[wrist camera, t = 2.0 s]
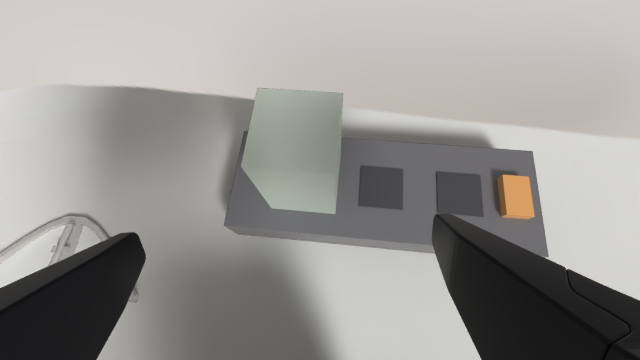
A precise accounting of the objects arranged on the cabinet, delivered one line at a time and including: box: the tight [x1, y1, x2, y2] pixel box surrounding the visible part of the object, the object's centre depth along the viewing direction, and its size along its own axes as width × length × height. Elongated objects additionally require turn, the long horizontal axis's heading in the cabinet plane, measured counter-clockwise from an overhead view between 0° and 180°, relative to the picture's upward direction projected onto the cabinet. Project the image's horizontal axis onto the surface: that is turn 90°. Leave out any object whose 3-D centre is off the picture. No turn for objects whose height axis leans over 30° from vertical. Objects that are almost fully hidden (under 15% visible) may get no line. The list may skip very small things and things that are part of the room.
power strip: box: [224, 131, 548, 258], centre depth 21 cm, size 20×7×4 cm, turn 84°
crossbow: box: [0, 215, 138, 302], centre depth 21 cm, size 16×13×2 cm
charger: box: [241, 88, 343, 214], centre depth 19 cm, size 4×4×10 cm
